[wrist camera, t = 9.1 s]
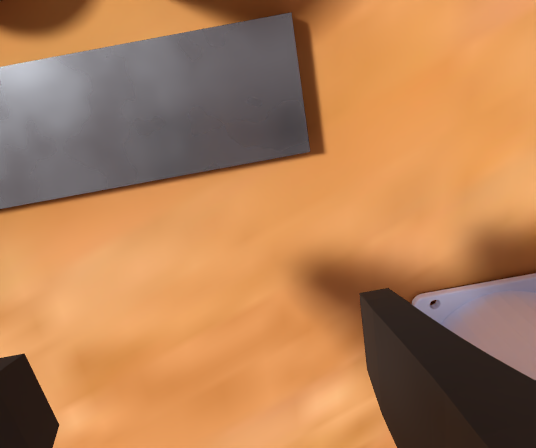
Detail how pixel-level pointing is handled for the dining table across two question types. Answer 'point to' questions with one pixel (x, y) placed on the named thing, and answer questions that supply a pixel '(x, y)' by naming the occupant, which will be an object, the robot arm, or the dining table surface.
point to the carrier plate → (150, 110)
